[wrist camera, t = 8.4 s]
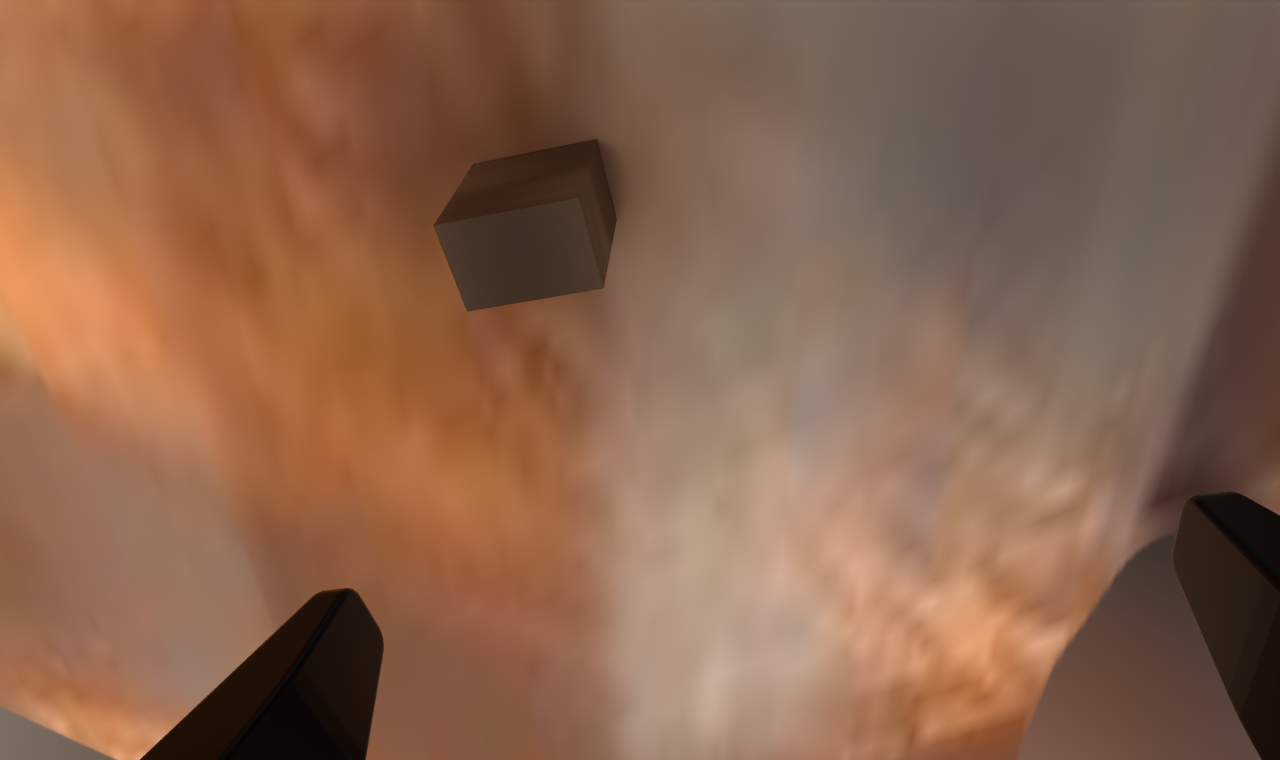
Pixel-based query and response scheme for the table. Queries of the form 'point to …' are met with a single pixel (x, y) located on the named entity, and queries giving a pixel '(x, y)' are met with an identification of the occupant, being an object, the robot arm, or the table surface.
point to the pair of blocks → (530, 227)
